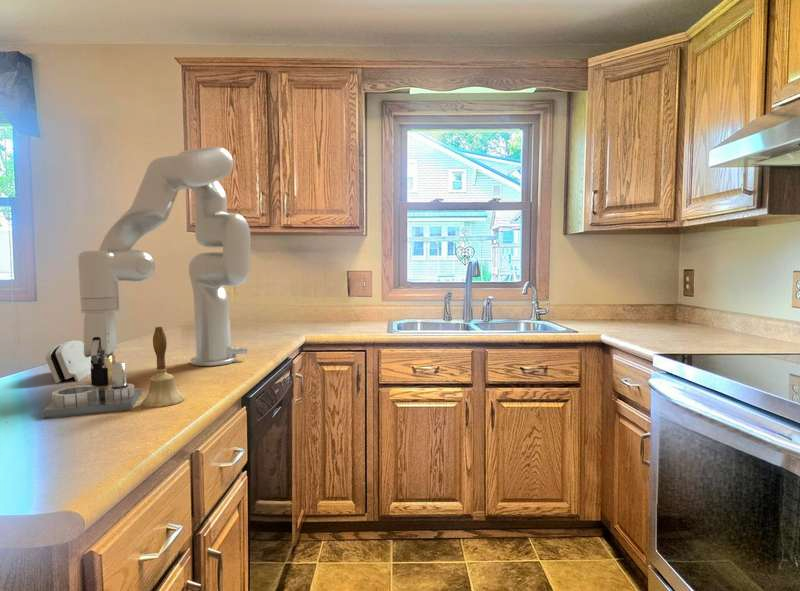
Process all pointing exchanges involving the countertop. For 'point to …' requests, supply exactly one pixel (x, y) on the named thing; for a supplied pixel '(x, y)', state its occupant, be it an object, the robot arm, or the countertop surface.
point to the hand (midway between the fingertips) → (104, 381)
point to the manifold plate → (93, 406)
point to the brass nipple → (108, 365)
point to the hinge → (68, 361)
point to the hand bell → (161, 377)
